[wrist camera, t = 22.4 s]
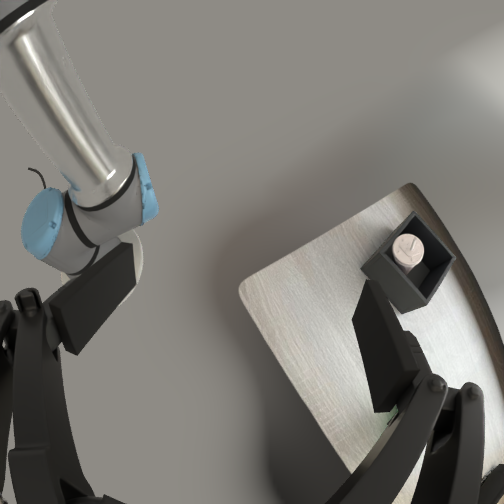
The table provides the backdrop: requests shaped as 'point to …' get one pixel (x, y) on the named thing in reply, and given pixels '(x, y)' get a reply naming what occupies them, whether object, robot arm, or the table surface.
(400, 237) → the smoothie
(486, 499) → the portable speaker
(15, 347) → the robot arm
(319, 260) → the table surface
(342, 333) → the table surface
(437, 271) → the bin
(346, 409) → the table surface
